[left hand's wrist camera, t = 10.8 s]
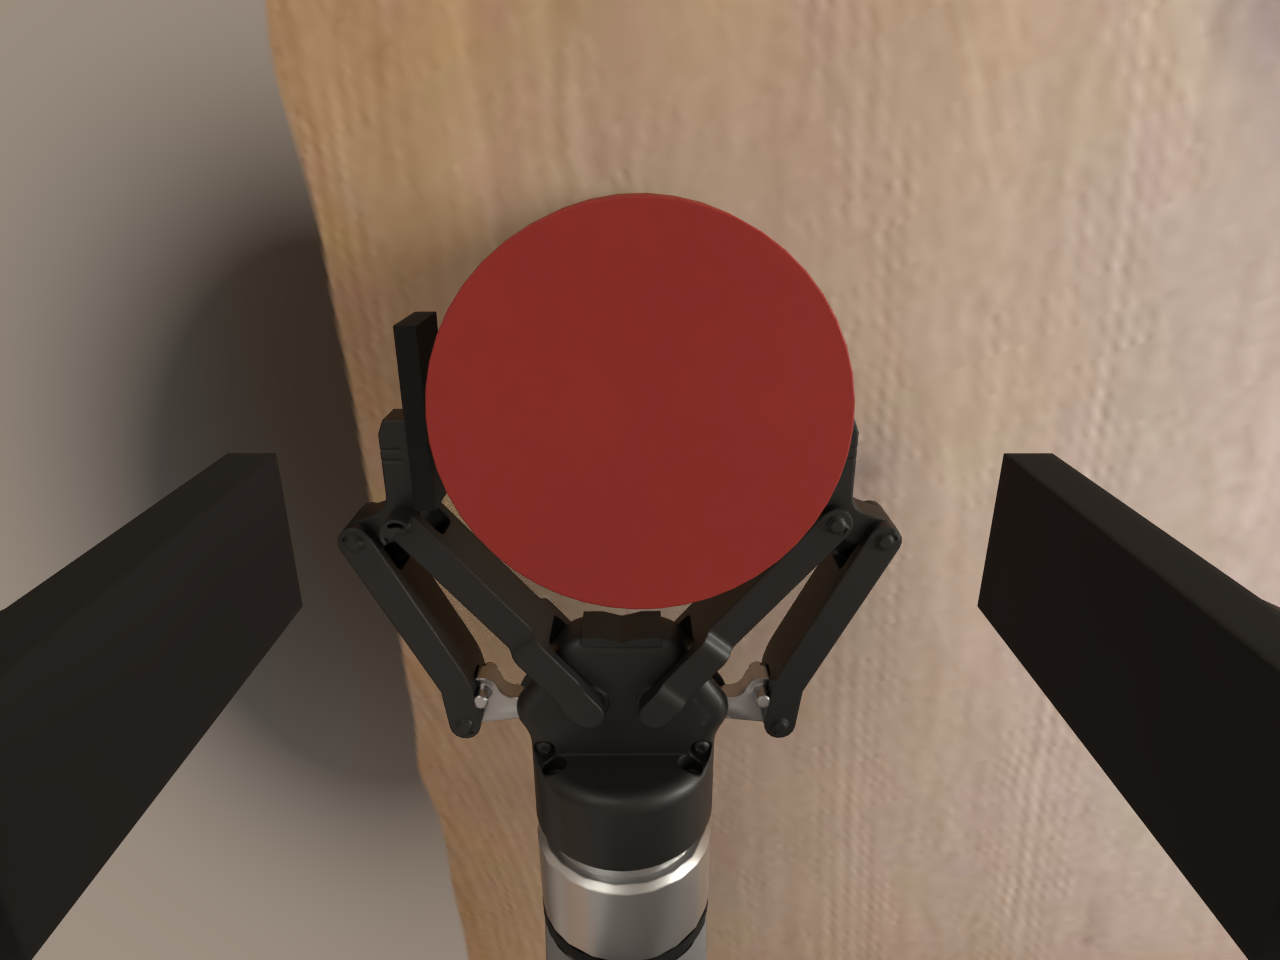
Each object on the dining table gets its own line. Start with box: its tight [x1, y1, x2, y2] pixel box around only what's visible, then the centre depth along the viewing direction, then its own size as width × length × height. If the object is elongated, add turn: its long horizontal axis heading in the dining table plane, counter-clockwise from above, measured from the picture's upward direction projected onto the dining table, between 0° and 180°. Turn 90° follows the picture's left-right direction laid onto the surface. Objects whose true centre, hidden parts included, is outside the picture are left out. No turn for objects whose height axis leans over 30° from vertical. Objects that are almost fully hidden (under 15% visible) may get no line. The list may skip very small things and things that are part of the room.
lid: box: [425, 193, 855, 609], centre depth 19 cm, size 10×10×2 cm
